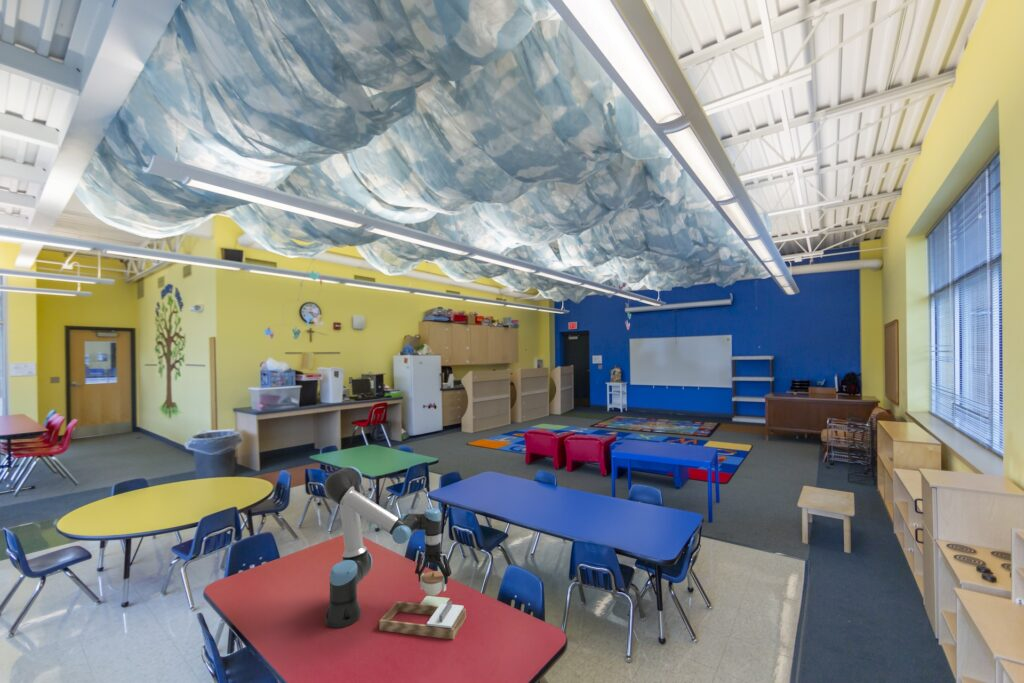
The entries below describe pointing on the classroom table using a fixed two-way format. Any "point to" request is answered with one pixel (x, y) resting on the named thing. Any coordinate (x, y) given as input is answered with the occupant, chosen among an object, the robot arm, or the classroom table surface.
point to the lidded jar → (432, 582)
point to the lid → (445, 615)
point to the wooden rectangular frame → (419, 628)
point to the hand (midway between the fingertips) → (433, 589)
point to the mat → (434, 600)
